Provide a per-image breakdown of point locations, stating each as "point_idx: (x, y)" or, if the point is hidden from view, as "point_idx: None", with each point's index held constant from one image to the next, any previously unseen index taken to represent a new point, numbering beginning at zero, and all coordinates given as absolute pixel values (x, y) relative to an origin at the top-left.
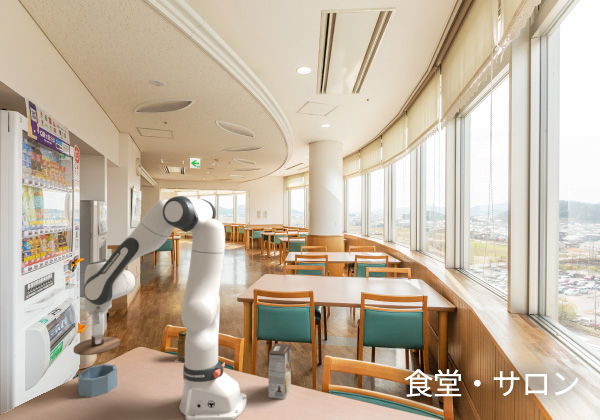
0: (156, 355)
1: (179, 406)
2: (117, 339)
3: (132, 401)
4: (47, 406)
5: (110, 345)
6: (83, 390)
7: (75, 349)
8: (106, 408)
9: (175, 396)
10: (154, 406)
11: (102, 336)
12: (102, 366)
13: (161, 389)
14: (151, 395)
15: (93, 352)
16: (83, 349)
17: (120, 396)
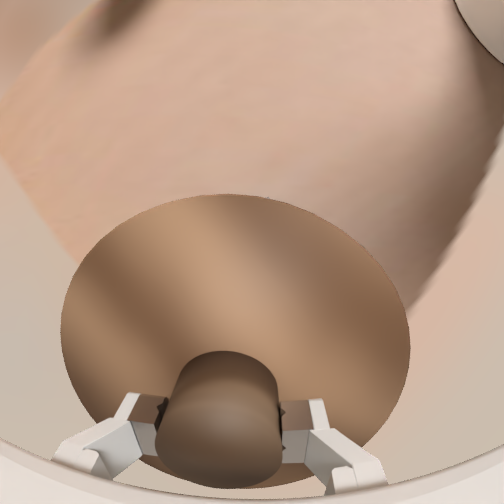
0: (63, 51)
1: (500, 61)
2: (166, 223)
3: (426, 158)
4: None
5: (325, 296)
6: None
7: (262, 483)
8: (423, 241)
9: (448, 40)
10: (477, 109)
11: (258, 418)
12: None
13: (389, 53)
14: (416, 93)
15: (396, 402)
16: None
17: (371, 191)
